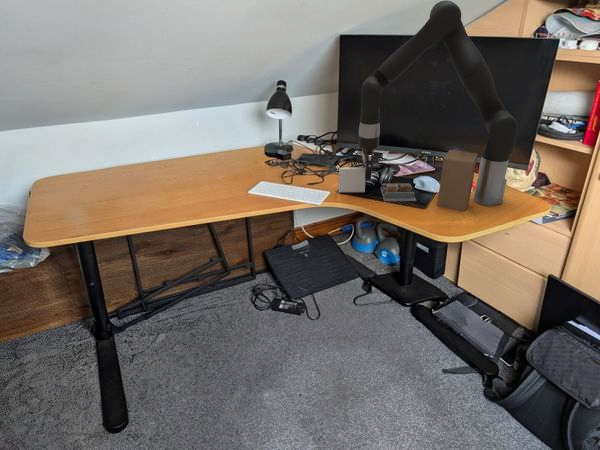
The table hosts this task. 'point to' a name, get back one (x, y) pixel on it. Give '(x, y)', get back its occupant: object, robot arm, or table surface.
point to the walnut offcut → (405, 188)
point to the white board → (352, 179)
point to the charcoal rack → (397, 194)
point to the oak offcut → (392, 188)
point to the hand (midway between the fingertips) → (366, 175)
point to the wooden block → (457, 180)
